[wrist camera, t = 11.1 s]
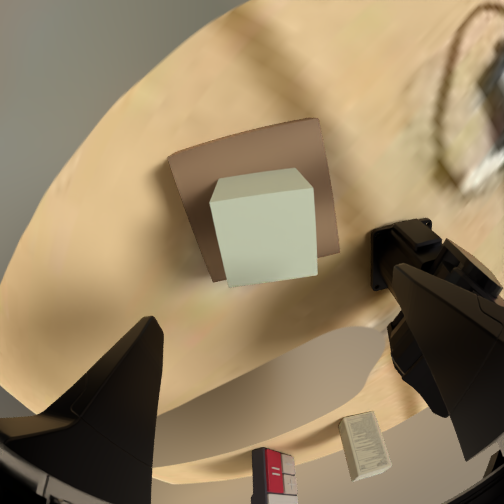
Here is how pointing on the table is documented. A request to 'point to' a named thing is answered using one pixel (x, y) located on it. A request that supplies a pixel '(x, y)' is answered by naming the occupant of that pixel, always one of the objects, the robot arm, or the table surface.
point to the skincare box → (364, 446)
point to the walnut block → (253, 161)
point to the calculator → (273, 478)
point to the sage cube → (265, 226)
